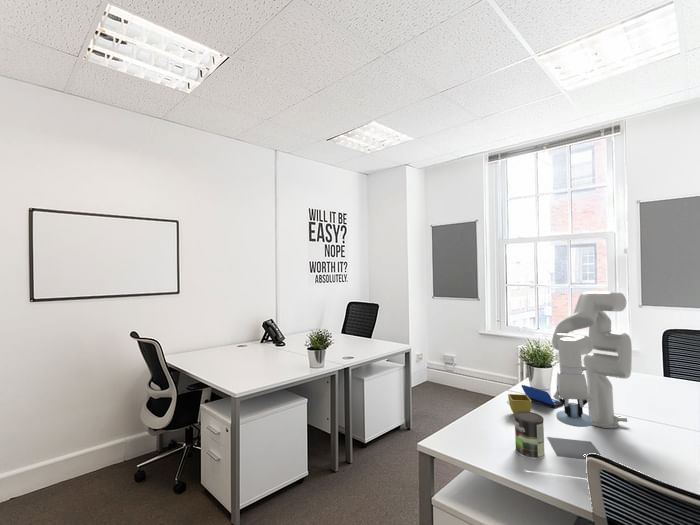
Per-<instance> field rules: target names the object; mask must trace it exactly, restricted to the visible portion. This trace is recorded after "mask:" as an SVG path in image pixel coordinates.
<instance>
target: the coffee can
mask: <svg viewBox="0 0 700 525" xmlns="http://www.w3.org/2000/svg"><path fill="white" fill-rule="evenodd" d="M513 417H514V435H515V436H514V438H515V440H514V441H515V442H514V443H515V453H517V455H519V456H523V457H524V458H529V459H535V460H536V459H543V458H544V457H545V455H546V453H545V437H544V436H545V435H544V434H545V433H544V432H545V431H544V430H545V429H544V427H545V426H544V421H545V420H544V419H545V418H544V417H543V416H542V415H540V414H538V413H537V412H532V411H530V412H528V411H519V412H516V413H514V414H513Z"/></svg>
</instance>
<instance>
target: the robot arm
mask: <svg viewBox="0 0 700 525" xmlns="http://www.w3.org/2000/svg"><path fill="white" fill-rule="evenodd" d="M626 306H627V298H626V295H624V294H623V293H622V292H614V291H613V292H612V291H585V292H582V293H581V294H580V295H579V296H578V300H577V303H576V305H575V309H574V311H573V314H572V315H569V316H567V317H566V318H564V319H563V320H561V321H560V322H559V323H558V324H557V325H556V327H555V329H554V332H553V335H552V339H551V344H552V347H553V348H554V349H555V350H556V351H558V360H559V361H558V363H559V370H558V371H557V375H556V390H555V393H554V395H553V399H554V400H557V401H560V402H561V403H563V404H564V405H563V406H564V410H565V414H567V415H568V417H570V407H569V405H568V403H570V400H576V401H577V404H578V414H579V417H580V418H582V415H583V413H584V411H583V408H584V406H585V405H587V407H588V408H587V409H588V414H587V415H588V416H590V417H591V418H592V425H591V426H593V427H598V428H602V429H617V428H619V426H620V424H619V422H623V423H627V422H628V418H627V417H626V416H622V415H620V414H619V415H616V414H615V411H614V392H613V384H612V382H611V381H610V379H609V378H608V377H610V378H616V379H617V378H618V379H623V380H624V379H625V380H626V379H629V378H630V377H631V374H632V359H633V358H632V357H633V356H632V355H633V354H632V349H633V347H632V344H633V343H632V339H631V336H630V335H629V334H627V333H626V332H622V331H613V330H612V320H611V318H610V316H608V314H607V313H606V312H624V310H626V309H625V308H626ZM587 328H588V336H587V335H583V334H574V333H571V332H573V331H577V330H578V331H579V330H583V329H587ZM593 350H595V351H598V352H592V351H593ZM599 351H600V352H607V353H608V352H609V353H615V354H616V355H613V354H612V355H611V354H606V353H599ZM582 355H584V357H583V365H582ZM584 371H585V373H584Z"/></svg>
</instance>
